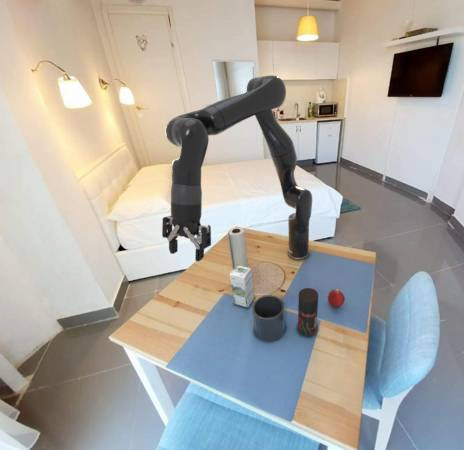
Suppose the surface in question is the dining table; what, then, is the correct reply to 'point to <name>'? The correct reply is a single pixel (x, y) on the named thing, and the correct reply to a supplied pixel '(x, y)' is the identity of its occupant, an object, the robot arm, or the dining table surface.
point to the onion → (336, 298)
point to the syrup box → (242, 286)
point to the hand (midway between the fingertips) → (186, 256)
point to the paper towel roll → (237, 247)
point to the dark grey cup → (269, 317)
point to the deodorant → (307, 311)
